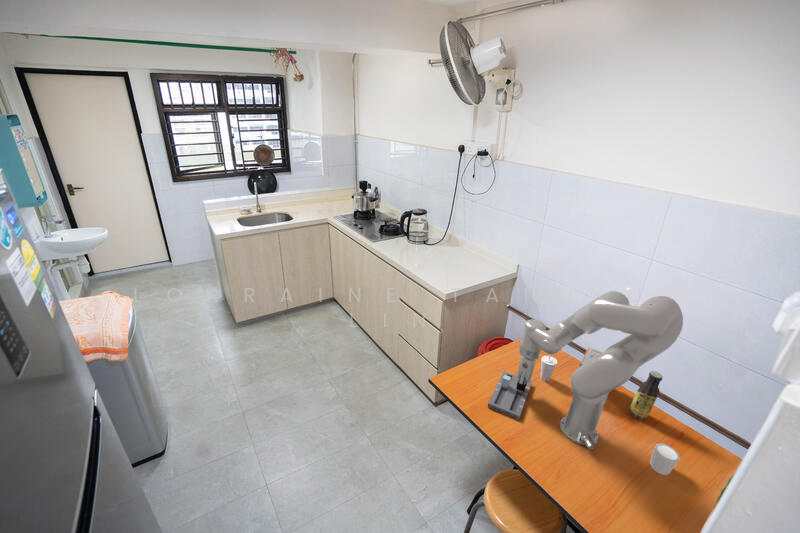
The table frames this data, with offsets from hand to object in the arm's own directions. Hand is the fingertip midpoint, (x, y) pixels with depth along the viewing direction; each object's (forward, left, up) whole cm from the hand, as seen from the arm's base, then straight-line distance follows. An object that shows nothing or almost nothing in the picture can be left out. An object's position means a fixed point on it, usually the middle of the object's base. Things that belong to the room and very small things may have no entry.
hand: (521, 387), depth 146 cm
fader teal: (+2, +6, -2) cm, 7 cm away
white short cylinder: (-34, -35, -4) cm, 49 cm away
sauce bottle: (-12, -43, -4) cm, 45 cm away
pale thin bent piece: (+3, -31, -4) cm, 31 cm away
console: (-1, +4, -3) cm, 6 cm away
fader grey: (0, 0, -2) cm, 2 cm away
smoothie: (+9, -15, -4) cm, 18 cm away
